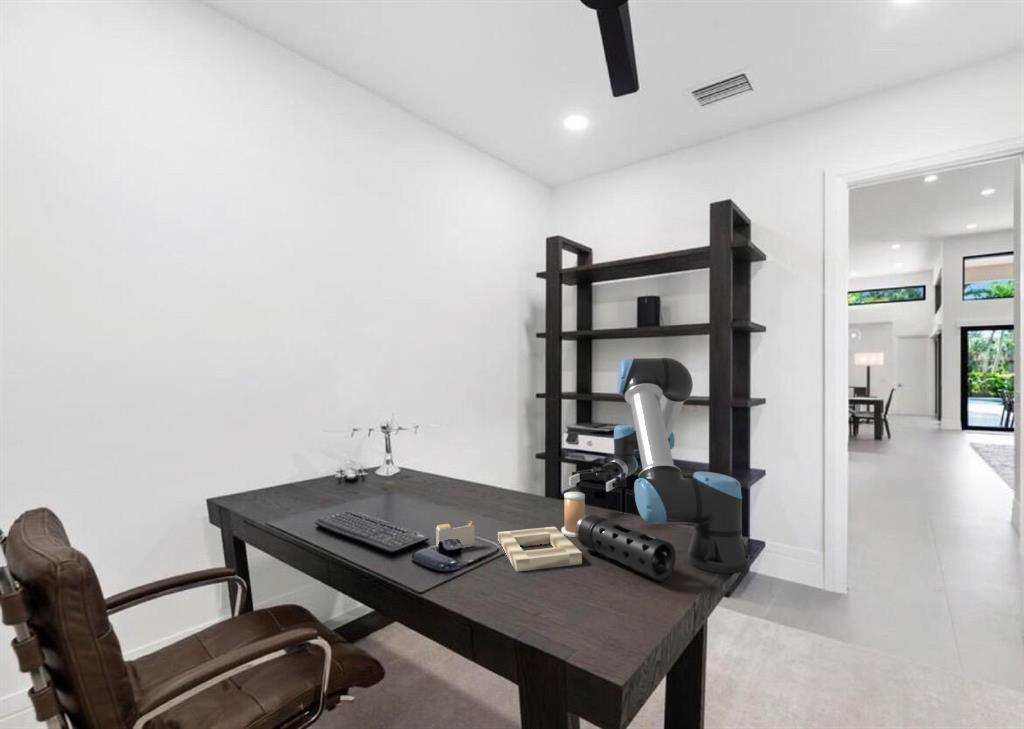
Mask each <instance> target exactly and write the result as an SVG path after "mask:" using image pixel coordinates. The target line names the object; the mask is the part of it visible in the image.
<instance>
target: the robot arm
mask: <svg viewBox="0 0 1024 729" xmlns="http://www.w3.org/2000/svg"><path fill="white" fill-rule="evenodd" d="M693 384H694V383H693V377H692V375H691V372H690V371H689V369H688V368H687V367H686V365H685V364H683V363H682V362H681V361H679V360H677V359H674V358H670V357H656V358H655V357H653V358H652V357H651V358H650V357H649V358H645V357H643V358H642V357H641V358H639V357H638V358H636V357H632V358H624V359H622V360H621V361H620V362H619V366H618V375H617V394H618V395H620V396H624V400H625V401H626V403H627V404H629V405H630V406H631V413H632V418H633V423H634V426H633V425H631V424H618V425H615V427H614V429H613V453H614V454H613V460H610V461H608V462H606V463H604V464H603V465H602V466H601V467H600V469H594V468H589V469H583V470H578V471H572V472H571V476H569V477H568V486H569V487H570V486H574V485H575V484H577V483H580V481H588V480H590V481H591V480H593V481H596V482H597V481H602V482H604V483H605V492H610V491H612V490H613V489H617V488H620V487H621V486H622V488H627V477H629V476H631V475H633V474H634V473H635V472H636V471H637V469H638V468H639V462H638V460H637V458H636V457H635V451H638V452H639V457H640V462H641V466H642V467H641V468H642V470H641V471H640V472H639V474H638V478H637V479H635V481H634V484H633V485H634V486H633V492H634V499H635V504H636V507H637V510H638V514H639V515H640V517H641V518H642V519H643V521H644V522H646V523H648V524H655V525H656V524H657V525H660V526H661V525H663V526H664V525H673V524H674V525H681V524H682V525H683V524H687V525H689V524H690V525H691V524H694V531H693V534H692V537H691V541H690V544H689V547H688V550H687V559H688V562H689V563H690V564H692V566H695V567H696V568H698V569H702V570H703V571H708V572H711V573H712V572H713V573H717V574H729V575H730V574H733V575H734V574H740V573H744V572H746V571H748V570H750V567H751V566H750V565H751V562H750V555H749V552H748V549H747V546H746V544H745V541H744V538H743V526H742V525H743V524H742V521H743V520H742V519H743V517H742V512H743V511H742V508H743V506H742V503H743V502H742V501H743V500H742V499H743V495H742V485H741V483H740V481H739V480H737V479H736V478H734V477H732V476H729V475H726V474H721V473H717V472H711V471H695V472H693V474H692V478H690V477H689V478H686V477H685V478H684V477H683V476H684V475H683V473H682V470H681V469H680V468H679V467H678V466H676V465H674V464H675V463H674V460H673V454H672V451H671V450H673V448H674V446H675V435H674V432H673V429H674V427H675V424H676V423H677V420H678V417H679V415H680V412H681V410H682V408H683V405H684V402H686V401H687V400H688V399H689V398H690V396H691V394H692V392H693Z"/></svg>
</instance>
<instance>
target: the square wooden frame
mask: <svg viewBox="0 0 1024 729" xmlns="http://www.w3.org/2000/svg"><path fill="white" fill-rule="evenodd" d="M498 541H499V543H500V544H501V546H502V547H503V549H504V551H505V553H506V554H505V553H504V554H505V556H506V555H507V556H506V558H507V559H508V561H509V560H510V561H509V562H510V564H511V565H512V567H513V568H514V570H515V572H517V573H518V572H525V571H534V570H542V569H551V568H552V569H553V568H558V567H559V568H560V567H567V566H575V565H576V566H577V565H582V564H583V552H582V551H580V549H579V548H578V547H577V546H575V545H574V544H573V542H571V540H569V539H568V537H566V536H564V535H563V534H562V531H560V530H559V529H558V528H557V527H556V526H546V527H537V528H525V529H516V530H506V531H497V542H498ZM499 543H498V544H499ZM549 543H550V544H549ZM540 544H542V545H552V546H553V547H552V546H551V547H548V548H538V549H537V548H536V549H530V550H529V549H528V550H524V549H523V548H522V547H520V545H523V547H531V545H532V546H539V545H540ZM501 546H500V547H501ZM503 549H502V550H503ZM504 551H503V552H504Z"/></svg>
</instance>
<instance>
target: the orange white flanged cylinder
mask: <svg viewBox="0 0 1024 729" xmlns="http://www.w3.org/2000/svg"><path fill="white" fill-rule="evenodd" d="M585 495H586V494H585V493H584V492H582V491H581V492H580V491H568V492H567V491H566V492H565V493H564V494H563V498H564V500H563V502H564V508H563V509H564V513H563V514H564V526H562V527H561V528H560V529H561V533H562V534H563V535H565V537H566V536H568V537H567V538H571V537H576V535H575V529H576V525H577V523H578V521H579V520H580V519H581V518H582V517H583V516H585V515H586V503H585V502H586V501H585V500H586V496H585Z"/></svg>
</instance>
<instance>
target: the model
mask: <svg viewBox="0 0 1024 729" xmlns="http://www.w3.org/2000/svg"><path fill="white" fill-rule="evenodd" d="M474 523H475V522H474V521H473V520H472V519H470V520H469V521H468V522H467V523H466V525H464V526H458V527H452V526H451V525H450V524H449V523H443V524H437V525H436V527H435V547H436V546H438V544H439V542H440V541H442V540H448V539H458V540H460V542H461V543H462V544H463V545H465V544H472V543H476V542H475V540H476V539H475V525H474Z"/></svg>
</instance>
